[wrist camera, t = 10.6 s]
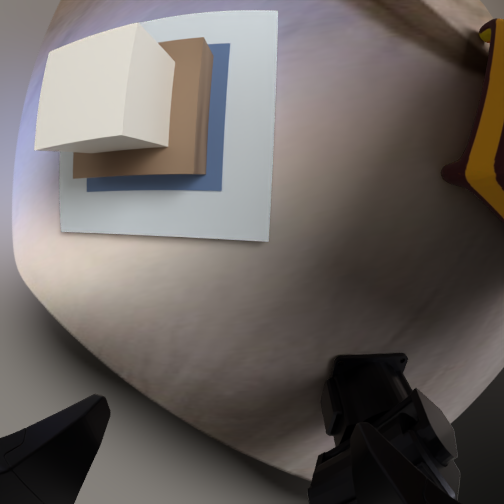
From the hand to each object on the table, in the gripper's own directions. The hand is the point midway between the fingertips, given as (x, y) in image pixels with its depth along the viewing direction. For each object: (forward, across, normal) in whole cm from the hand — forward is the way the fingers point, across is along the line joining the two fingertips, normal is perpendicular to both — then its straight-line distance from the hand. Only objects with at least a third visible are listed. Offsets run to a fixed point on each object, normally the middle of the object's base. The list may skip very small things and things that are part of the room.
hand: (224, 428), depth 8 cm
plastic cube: (+8, +7, -12) cm, 16 cm away
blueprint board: (+12, +7, -12) cm, 18 cm away
